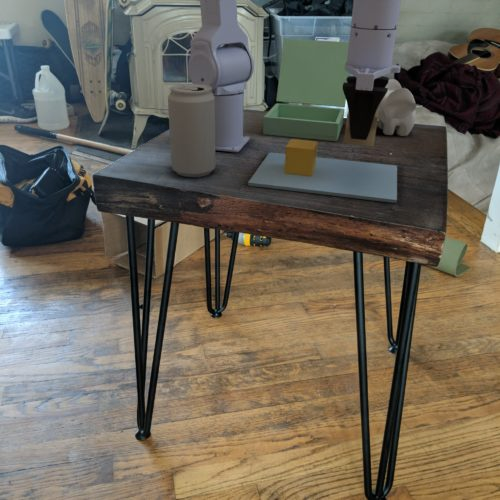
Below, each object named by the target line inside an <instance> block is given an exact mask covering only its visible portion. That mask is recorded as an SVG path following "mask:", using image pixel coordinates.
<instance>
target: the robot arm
mask: <svg viewBox="0 0 500 500" xmlns="http://www.w3.org/2000/svg"><path fill="white" fill-rule="evenodd" d="M237 3H238V2H237V0H199V5H200V6H199V7H200V17H201V27H200V28H199V29H198V31H197V32H196V33H195V34H194V36H193V37H192V38H191V40H190V42H189V43H190V55H189V59H188V62H187V63H188V65H187V67H188V68H187V69H188V70H187V71H188V75H189V79H190V81H191V84H200V85H207V86H210V87H211V88H212V91H211V92H212V94H213V95H214V97H215V151H219V152H228V153H229V152H230V153H239V152H240V151H241V150H242V148H244V146H245V145H246V144H247V143H248V142H249V141H250V136H246V135H245V136H244V103H245V102H244V100H245V97H244V96H245V90H246V89H247V82H249V81H250V80H251V79H252V76H253V74H254V70H255V62H254V57H253V55H252V52H251V51H250V46H249V37H248V34H246V32H245V31H244V30H243V29H242V27H241V26H240V25H239V21H238V4H237ZM352 3H353V4H352V11H351V12H352V13H351V21H350V31H349V38H348V39H349V40H348V42H349V47H348V56H347V62H346V63H345V70H346V71H347V72H349V73H350V74H349V77H347V79H346V80H347V83H345V82H344V84H343V92H344V95H345V97H346V104H347V110H348V111H349V125H350V136H351V139H359V140H366V139H367V137H368V135H369V132H370V129H371V126H372V122H373V119H374V116H375V113H376V111H377V108H378V106H379V104H380V103H381V101H382V99H383V98H384V96H385V95H386V93H387V91H388V88H385V87H386V85H387V84H388V81H389V80H390V78H389V77H388V75H390V74H399V73H401V67H402V66H401V65H399V64H393V57H394V51H395V46H396V45H395V44H396V37H397V32H398V31H397V30H398V25H399V19H400V13H401V11H400V10H401V5H402V0H353V2H352Z"/></svg>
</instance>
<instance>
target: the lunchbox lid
mask: <svg viewBox="0 0 500 500" xmlns="http://www.w3.org/2000/svg"><path fill="white" fill-rule="evenodd" d="M282 42H283V43H282V51H281V59H280V67H279V76H278V84H277V92H276V102H277V103H288V104H300V105H311V106H323V107H335V108H346V104H347V101H346V97H345V95H344V92H343V84H344V82H345V83H347V80H346V79H347V77H349V76H350V75H351V74H350V73H349V72H347V71H346V70H345V63H346V62H347V56H348V47H349V41H336V40H335V41H334V40H316V39H300V38H299V39H298V38H283V41H282Z"/></svg>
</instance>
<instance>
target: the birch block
mask: <svg viewBox="0 0 500 500" xmlns="http://www.w3.org/2000/svg"><path fill="white" fill-rule="evenodd" d="M378 112H379V111H378V110H377V111H376V113H375V116H374V119H373V122H372V126H371V129H370V132H369V135H368V137H367V139H366V140H359V139H351V136H350V125H349V110H348V111H347V114H346V122H345V131H344V140H343V144H344V145H351V146H361V147H371V148H373V147H374V146H375V139H376V133H377V125H378V121H379V119H378Z"/></svg>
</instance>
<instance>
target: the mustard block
mask: <svg viewBox="0 0 500 500" xmlns="http://www.w3.org/2000/svg"><path fill="white" fill-rule="evenodd" d="M318 144H319V142H318V141H317V140H316V141H315V140H308V139H307V140H306V139H298V138H291V139H290V140H289V141H288V143H287V144H286V146H285V154H286V155H285V171H284V173H286V174H295V175H304V176H312V174H313V172H314V170H315V167H316V157H318V156H317V155H318V146H319V145H318Z"/></svg>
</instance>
